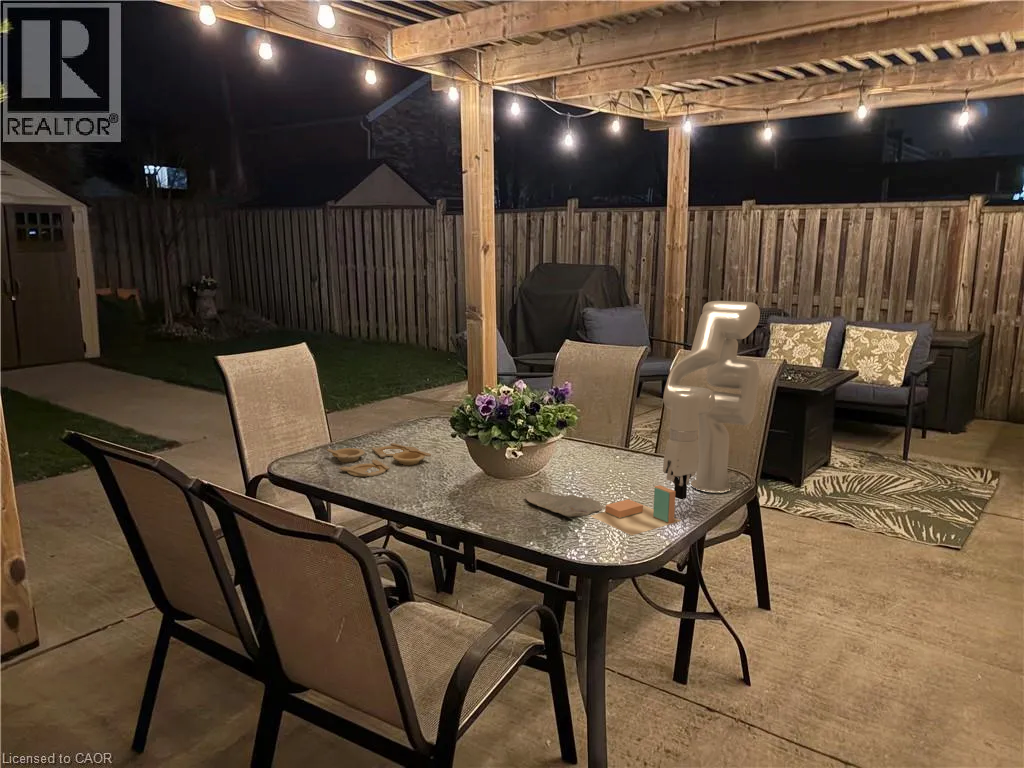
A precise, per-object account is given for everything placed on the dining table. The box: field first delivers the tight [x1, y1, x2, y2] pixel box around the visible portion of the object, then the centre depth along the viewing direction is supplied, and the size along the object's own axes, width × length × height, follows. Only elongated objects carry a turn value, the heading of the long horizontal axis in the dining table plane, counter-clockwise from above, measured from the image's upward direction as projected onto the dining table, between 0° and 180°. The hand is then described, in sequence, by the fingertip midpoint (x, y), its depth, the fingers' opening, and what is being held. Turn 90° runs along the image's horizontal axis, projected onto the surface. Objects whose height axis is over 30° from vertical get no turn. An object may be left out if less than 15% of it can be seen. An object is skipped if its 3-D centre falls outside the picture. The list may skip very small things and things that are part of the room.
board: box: [590, 502, 682, 536], centre depth 202 cm, size 19×17×1 cm
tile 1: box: [604, 498, 644, 519], centre depth 206 cm, size 2×6×9 cm
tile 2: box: [653, 485, 676, 523], centre depth 200 cm, size 2×6×9 cm, turn 34°
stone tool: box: [524, 491, 605, 518], centre depth 213 cm, size 20×3×25 cm
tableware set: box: [326, 442, 432, 478], centre depth 258 cm, size 35×29×4 cm
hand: (680, 497), depth 203 cm, fingers closed
